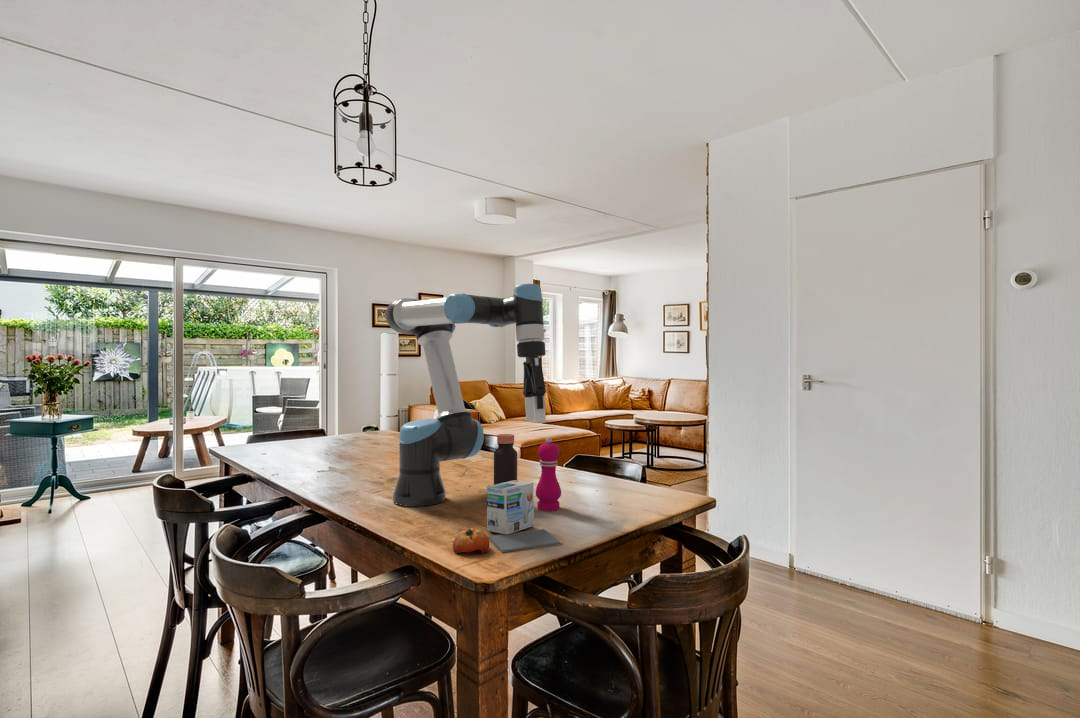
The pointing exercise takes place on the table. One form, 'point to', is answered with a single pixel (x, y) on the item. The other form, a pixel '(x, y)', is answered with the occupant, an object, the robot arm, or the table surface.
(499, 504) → the light bulb box
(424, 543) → the table surface
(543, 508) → the pepper mill
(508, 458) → the bottle
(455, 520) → the table surface
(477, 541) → the tomato
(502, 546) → the mat
